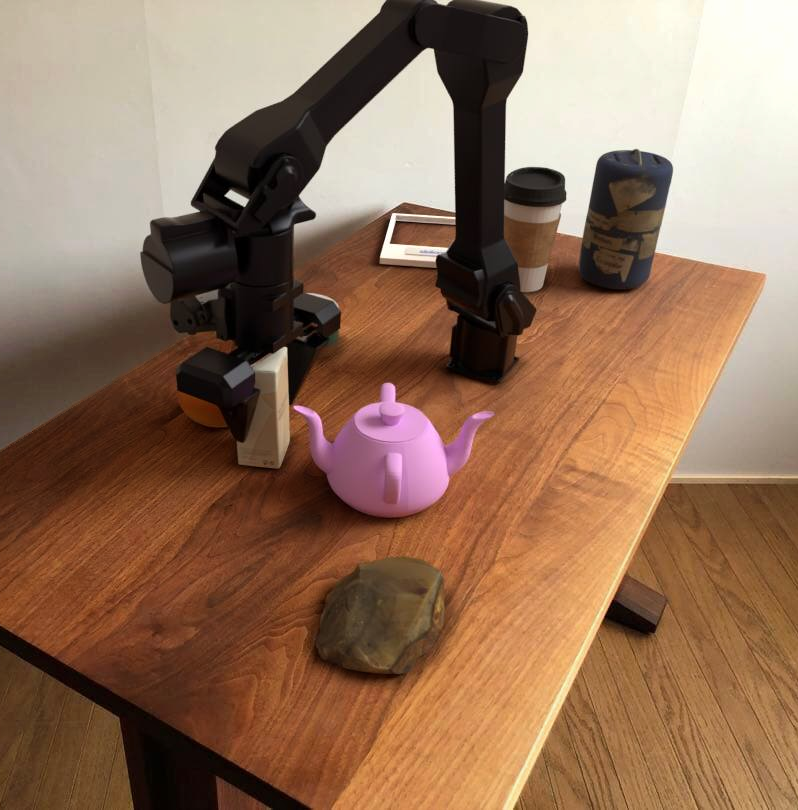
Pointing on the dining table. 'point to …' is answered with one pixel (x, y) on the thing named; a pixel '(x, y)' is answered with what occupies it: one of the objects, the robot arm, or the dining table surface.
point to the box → (268, 415)
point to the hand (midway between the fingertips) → (264, 421)
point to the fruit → (201, 411)
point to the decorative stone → (382, 616)
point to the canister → (624, 218)
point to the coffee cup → (532, 220)
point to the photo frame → (410, 253)
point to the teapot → (389, 456)
